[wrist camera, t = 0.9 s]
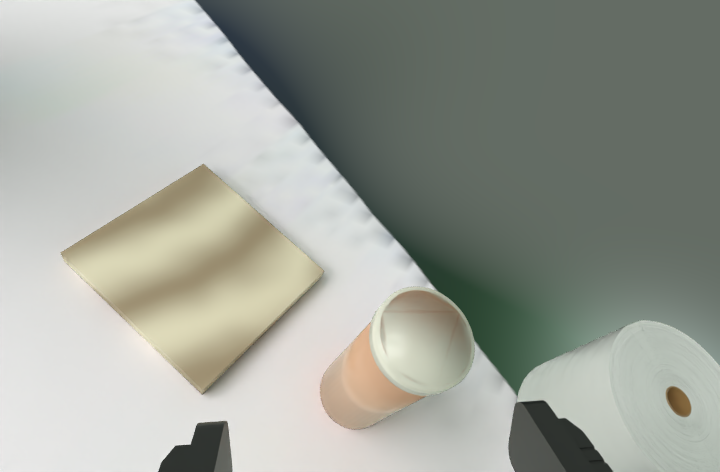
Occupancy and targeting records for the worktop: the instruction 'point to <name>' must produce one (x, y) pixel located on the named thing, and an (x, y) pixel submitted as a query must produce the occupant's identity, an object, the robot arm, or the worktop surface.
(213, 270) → the birch board
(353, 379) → the terracotta jar
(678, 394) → the toilet tissue
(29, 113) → the worktop surface
